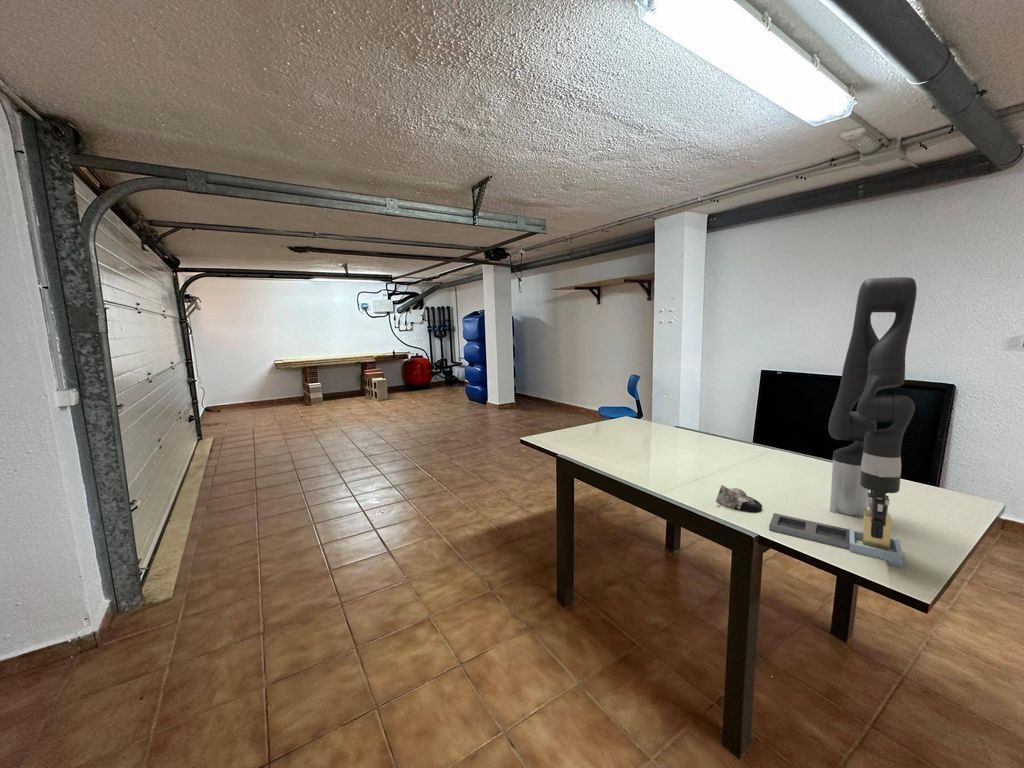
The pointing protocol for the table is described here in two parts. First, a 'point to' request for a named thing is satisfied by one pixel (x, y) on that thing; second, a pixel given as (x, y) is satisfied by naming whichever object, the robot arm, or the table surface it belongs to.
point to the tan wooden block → (866, 535)
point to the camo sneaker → (737, 500)
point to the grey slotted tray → (810, 530)
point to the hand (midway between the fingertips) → (875, 533)
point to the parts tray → (877, 549)
